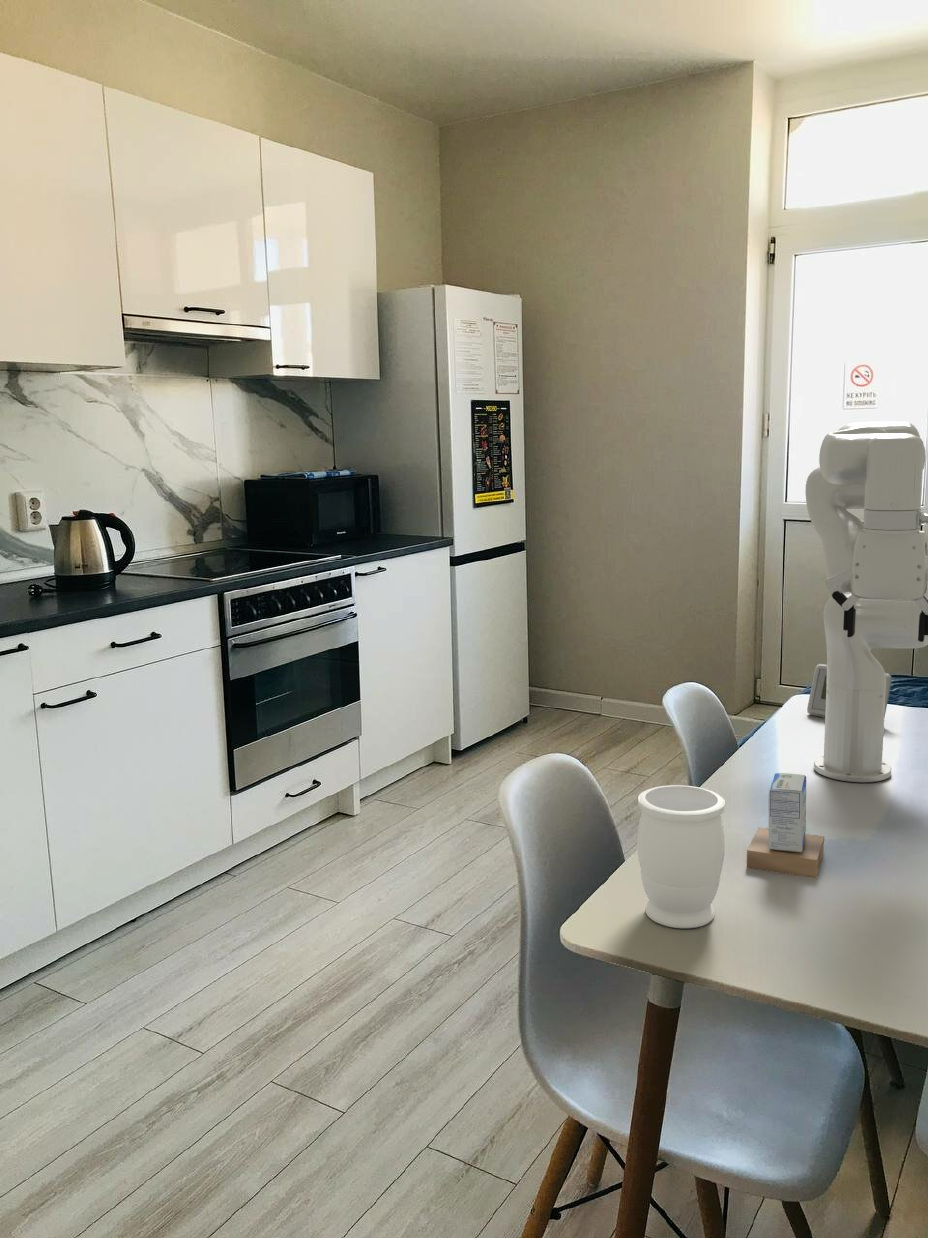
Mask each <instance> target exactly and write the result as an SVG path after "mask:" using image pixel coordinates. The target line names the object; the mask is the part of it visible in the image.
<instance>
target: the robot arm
mask: <svg viewBox="0 0 928 1238" xmlns="http://www.w3.org/2000/svg"><path fill="white" fill-rule="evenodd" d="M924 444H925V443H924V442H923V439H922V438H921V435H920V433H919V431H918V429H917V428H916V426H915V425H913V424H912V423H911V422H908V421H904V420H903V421H902V420H900V421H897V420H896V421H895V420H893V421H867V422H866V421H860V422H859V421H858V422H856V421H855V422H853V423H851V422H850V423H848V424H846V425H844V426H841V428H839V429H837V431H832V432H829V433H827V434H826V435H825V436H824V438H823V440H822V443H821V444H820V448H819V449H820V450H819V457H818V460H819V461H818V462H819V463H818V464H819V466H818V467H817V468H815V469H813V470H812V471H811V472H810V474H808V476H807V479H806V483H805V502H806V503H805V504H806V509H807V513H808V516H809V519H810V522H811V524H812V526H813V528H814V530H815V531H816V533H817V535H818V537H819V539H820V541H821V543H822V547H823V548H822V550H823V555H824V566H825V572H826V581H825V585H826V587H827V590H829V593H830V595H831V597H830V598H829V599H828V600H827V601H826V602H825V605H824V608H823V614H822V615H823V627H824V634H825V636H824V637H825V643H826V644H825V645H826V665H827V687H826V712H825V718H824V721H825V722H824V739H823V741H824V743H823V756H822V755H821V756H820V757H818V758H816V759H815V760H814V761H813V769H814V770H815V772H817V773H818V774H820V775H822V776H824V777H826V778H830V779H832V780H833V779H834V780H838V781H842V782H850V783H875V782H880V781H881V782H882V781H885V780H886V779H889V778H890V777H891V776H892V767H891V766H890V765H889V764H888V763H887V762H885V761H883V751H884V749H883V748H884V747H883V746H884V731H885V730H884V729H885V718H884V712H885V692H886V674H885V673H886V671H885V668H884V666H883V665H882V664H881V663H880V662H879V660H878V659H877V658H876V657H875V656H874V654H873V653H872V652H871V650H874V649H875V650H876V649H920V648H924V647H926V646H928V544H927V543H928V542H927V536H926V535H927V534H926V531H924V530H920V528H921V527H922V526H923V525H928V514H927V513H924V512H923V511H922V510H921V508H922V492H923V491H922V490H923V489H922V487H923V475H924V473H923V470H924V469H925V465H926V457H927V456H926V447H925V445H924ZM848 510H863V520H861V519H860V518H859V517H858V516H856V515H854V514H853V513H851V512H850V511H848Z"/></svg>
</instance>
